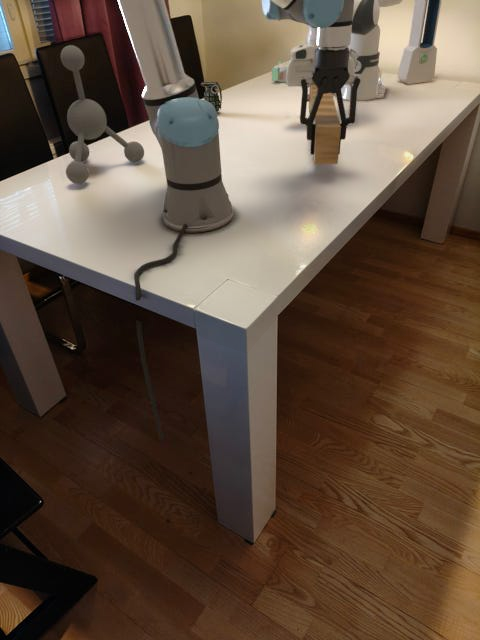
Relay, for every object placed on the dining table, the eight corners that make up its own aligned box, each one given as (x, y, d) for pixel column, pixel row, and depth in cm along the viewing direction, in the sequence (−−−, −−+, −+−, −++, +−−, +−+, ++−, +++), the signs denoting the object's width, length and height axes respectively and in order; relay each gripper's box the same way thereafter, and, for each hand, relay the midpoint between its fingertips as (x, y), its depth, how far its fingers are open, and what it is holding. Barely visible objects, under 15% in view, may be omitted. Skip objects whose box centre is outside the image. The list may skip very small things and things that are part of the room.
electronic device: (405, 84, 191) (419, -7, 173) (396, 80, 197) (408, -9, 178) (434, 81, 193) (450, -10, 175) (423, 77, 199) (438, -11, 181)
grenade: (202, 115, 171) (199, 84, 165) (206, 110, 175) (204, 80, 169) (220, 115, 169) (217, 84, 163) (224, 111, 174) (222, 80, 167)
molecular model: (155, 174, 129) (135, 45, 110) (70, 190, 123) (34, 57, 104) (137, 148, 146) (116, 33, 128) (61, 161, 140) (29, 42, 122)
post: (337, 163, 116) (341, 126, 111) (314, 164, 117) (316, 126, 111) (326, 106, 156) (328, 77, 150) (308, 107, 156) (310, 77, 151)
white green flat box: (294, 54, 218) (335, 57, 208) (294, 70, 222) (334, 73, 212) (263, 65, 202) (305, 69, 192) (263, 82, 206) (304, 86, 196)
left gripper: (373, 43, 109) (360, 147, 123) (290, 45, 111) (287, 147, 125) (378, 49, 103) (364, 157, 118) (290, 51, 105) (287, 158, 119)
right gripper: (356, 46, 142) (352, 97, 150) (286, 49, 144) (285, 99, 152) (359, 50, 137) (354, 102, 145) (286, 53, 139) (285, 104, 147)
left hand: (324, 152), depth 121 cm, fingers closed on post, 6 cm apart
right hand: (318, 101), depth 149 cm, fingers closed on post, 5 cm apart
